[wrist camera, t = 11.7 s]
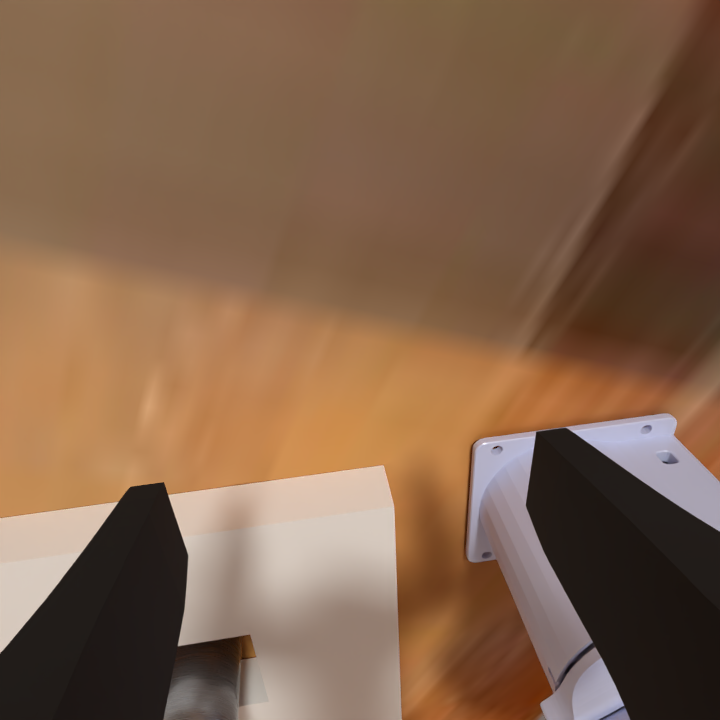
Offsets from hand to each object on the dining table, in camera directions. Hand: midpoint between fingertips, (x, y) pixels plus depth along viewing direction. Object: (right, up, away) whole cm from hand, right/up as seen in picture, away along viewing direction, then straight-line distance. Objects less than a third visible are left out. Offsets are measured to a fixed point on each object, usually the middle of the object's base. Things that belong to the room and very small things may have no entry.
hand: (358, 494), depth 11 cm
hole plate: (-8, -12, +18) cm, 23 cm away
